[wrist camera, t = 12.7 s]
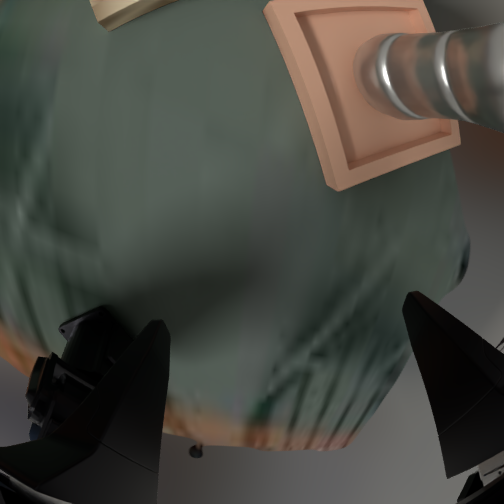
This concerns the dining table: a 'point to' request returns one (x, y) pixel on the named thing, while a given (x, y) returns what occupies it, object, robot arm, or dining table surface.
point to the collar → (123, 10)
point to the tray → (352, 85)
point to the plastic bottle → (435, 75)
